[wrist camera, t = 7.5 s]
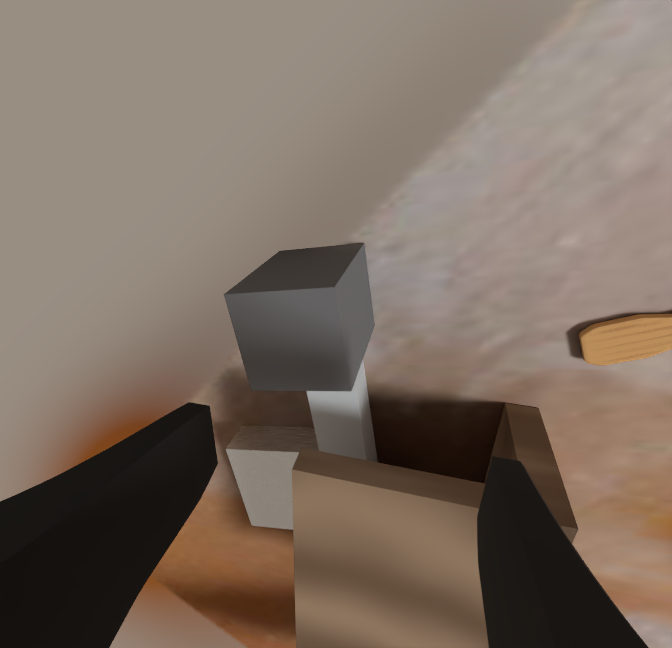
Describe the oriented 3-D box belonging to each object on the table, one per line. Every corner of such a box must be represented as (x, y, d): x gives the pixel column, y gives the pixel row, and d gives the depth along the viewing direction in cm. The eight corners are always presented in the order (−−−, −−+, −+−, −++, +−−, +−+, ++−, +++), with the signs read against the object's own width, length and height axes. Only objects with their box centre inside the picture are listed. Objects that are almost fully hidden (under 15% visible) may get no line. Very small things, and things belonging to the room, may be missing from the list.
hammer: (399, 524, 25) (388, 620, 20) (336, 518, 26) (312, 608, 21) (364, 243, 18) (334, 287, 13) (279, 250, 19) (224, 294, 14)
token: (346, 500, 26) (338, 534, 24) (266, 494, 27) (251, 525, 25) (331, 423, 23) (319, 453, 21) (244, 421, 25) (225, 448, 23)
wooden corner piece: (485, 577, 25) (497, 712, 19) (327, 540, 27) (296, 652, 21) (538, 408, 19) (578, 529, 14) (332, 375, 21) (291, 469, 16)
